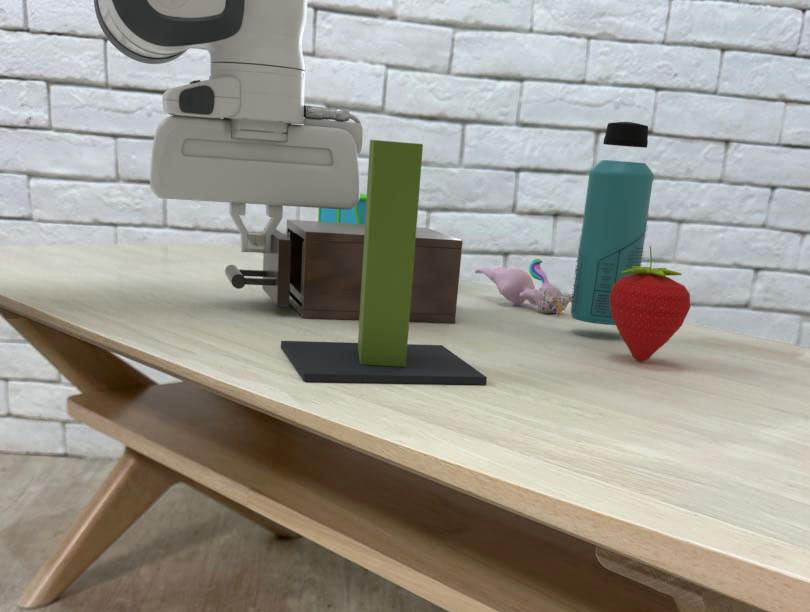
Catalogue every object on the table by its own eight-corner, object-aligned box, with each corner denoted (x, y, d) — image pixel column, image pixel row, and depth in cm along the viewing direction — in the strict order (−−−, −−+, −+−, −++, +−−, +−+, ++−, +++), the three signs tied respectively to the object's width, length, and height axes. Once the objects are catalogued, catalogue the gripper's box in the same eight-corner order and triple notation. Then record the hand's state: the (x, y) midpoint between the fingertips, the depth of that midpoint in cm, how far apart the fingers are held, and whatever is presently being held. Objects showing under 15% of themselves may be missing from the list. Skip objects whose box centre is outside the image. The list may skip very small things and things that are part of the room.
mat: (303, 381, 72) (304, 373, 72) (280, 347, 83) (280, 340, 83) (486, 384, 76) (487, 377, 76) (441, 351, 86) (442, 345, 86)
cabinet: (302, 318, 97) (305, 231, 94) (284, 297, 108) (286, 219, 105) (455, 323, 101) (462, 240, 98) (422, 302, 112) (428, 228, 109)
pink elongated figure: (582, 326, 113) (495, 285, 123) (596, 275, 111) (506, 236, 120) (544, 329, 110) (457, 286, 119) (557, 276, 107) (468, 236, 116)
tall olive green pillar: (360, 364, 76) (373, 139, 70) (357, 349, 82) (370, 139, 76) (405, 367, 76) (423, 144, 70) (400, 352, 82) (415, 143, 76)
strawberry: (654, 373, 85) (674, 252, 81) (585, 355, 90) (602, 240, 86) (693, 367, 89) (715, 251, 85) (626, 351, 94) (643, 240, 90)
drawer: (233, 305, 95) (234, 236, 93) (222, 287, 106) (223, 225, 103) (420, 311, 100) (425, 247, 98) (393, 294, 110) (397, 235, 108)
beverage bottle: (617, 343, 97) (651, 122, 90) (555, 332, 100) (583, 117, 93) (640, 335, 102) (674, 126, 95) (580, 325, 106) (609, 122, 98)
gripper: (358, 111, 100) (350, 253, 105) (147, 92, 95) (150, 243, 100) (371, 110, 94) (363, 260, 99) (148, 91, 89) (152, 251, 94)
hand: (255, 252), depth 99 cm, fingers closed
